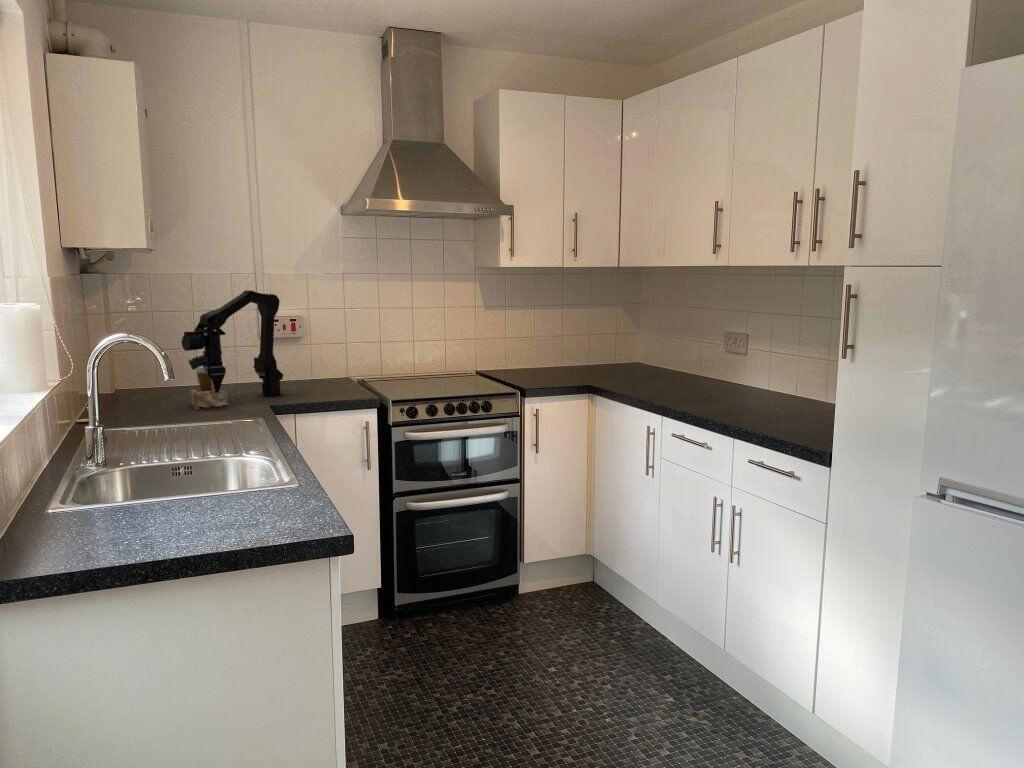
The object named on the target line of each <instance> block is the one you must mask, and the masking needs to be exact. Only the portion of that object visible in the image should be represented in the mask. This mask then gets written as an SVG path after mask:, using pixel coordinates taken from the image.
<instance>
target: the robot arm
mask: <svg viewBox="0 0 1024 768" xmlns="http://www.w3.org/2000/svg"><path fill="white" fill-rule="evenodd" d="M251 303H252V304H256V305H257V310H258V312H259V314H260V340H259V341H260V343H259V354H258V356H257V357H253V369H254V372H255V373H256V374H257V375H258V377H259V380H262V381H261V383H260V389H261V390H260V391H261V395H263V396H264V397H272V396H282V392H281V381H283V378H284V374H283V373H282V371H280V370H279V369H278V366H277V365H278V364H277V360H276V358H275V355H274V336H275V335H274V332H275V317H276V315H277V313H278V311H279V308H280V298H279V297H278V296H277V294H274V293H261V292H258V291H254V290H243V292H241V293H240V294H239V295H237V296H236V297H234V298H232V299H231V300H230V301H228V302H227V303H225V304H224V305H222V306H221V307H219V308H216V309H213V310H210V311H207V312H206V313H203V314H201V315H200V317H199V322H198V323H197V325H196V327H195V329H194V330H193V331H183V336H182V338H181V345H182V346H181V347H182V348H183V350H184V351H185V352H188V351H197V350H202V349H204V350H203V352H202V354H201V355H199V356H195V357H192V358H191V359H188V361H187V362H188V363H189V367H190V368H191V370H196V368H198V367H200V366H203V368H205V367H206V369H204V370H205V371H206V372H207V375H208V376H209V377H210V380H211V379H212V382H213V385H214V389H215V392H219V389H220V388H221V386H222V384H223V381H224V378H225V376H226V373H227V371H226V370H227V369H226V367H225V366H224V365H223V359H222V358H223V357H222V354H223V350H222V346H221V345H222V344H221V343H222V342H221V336H225V335H227V334H226V332H225V331H224V330H222V328H221V327H223V326H224V325H225V323H227V320H228V319H229V318H230V317H231V316H233V315H234V314H235V313H237V312H239V311H240V310H241V309H243V308H245V307H246V306H247V305H248V304H251ZM220 390H221V389H220Z"/></svg>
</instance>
